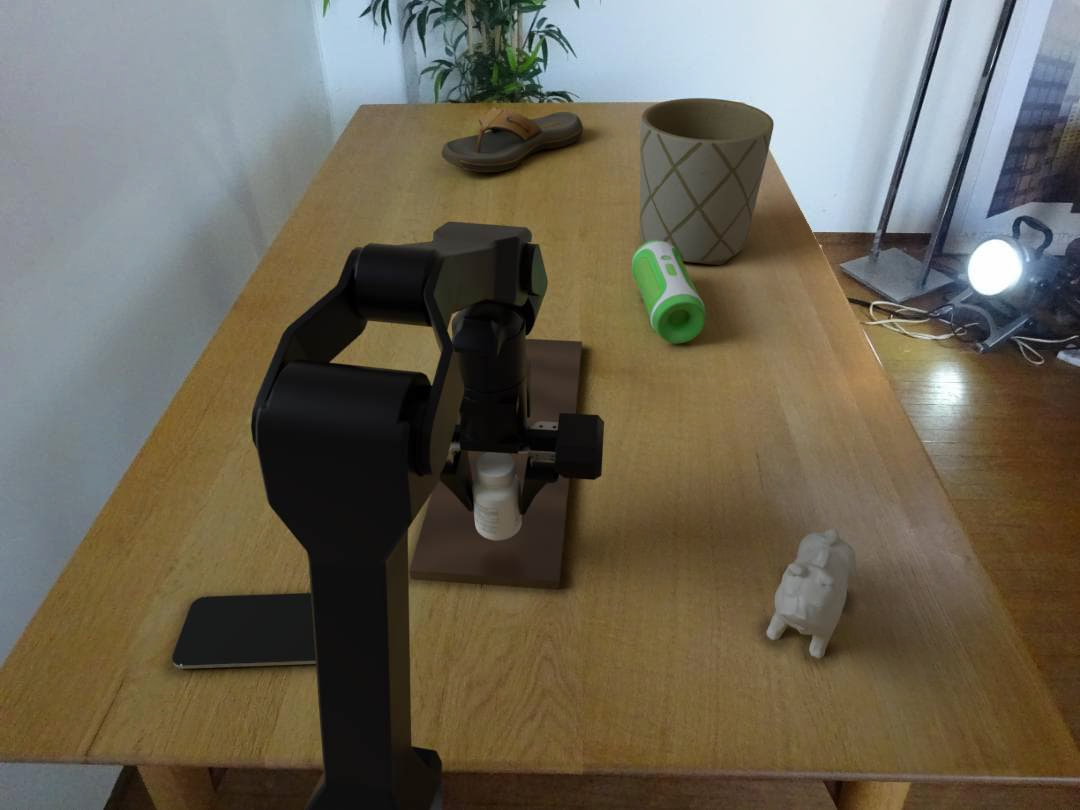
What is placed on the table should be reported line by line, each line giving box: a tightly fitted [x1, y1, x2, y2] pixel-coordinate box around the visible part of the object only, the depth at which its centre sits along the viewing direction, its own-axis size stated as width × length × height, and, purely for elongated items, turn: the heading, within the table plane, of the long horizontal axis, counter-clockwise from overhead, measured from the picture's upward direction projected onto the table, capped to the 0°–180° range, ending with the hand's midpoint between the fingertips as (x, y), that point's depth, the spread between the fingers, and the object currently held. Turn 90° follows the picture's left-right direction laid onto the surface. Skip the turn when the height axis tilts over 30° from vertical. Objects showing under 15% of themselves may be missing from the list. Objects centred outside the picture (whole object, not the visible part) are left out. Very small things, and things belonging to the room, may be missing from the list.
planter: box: [639, 97, 775, 266], centre depth 124 cm, size 19×19×20 cm
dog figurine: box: [766, 528, 857, 659], centre depth 68 cm, size 5×13×11 cm, turn 150°
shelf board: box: [408, 338, 583, 590], centre depth 91 cm, size 40×14×1 cm, turn 175°
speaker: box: [631, 240, 706, 345], centre depth 111 cm, size 18×7×8 cm, turn 5°
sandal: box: [441, 106, 584, 173], centre depth 158 cm, size 14×34×9 cm, turn 129°
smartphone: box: [171, 592, 316, 670], centre depth 71 cm, size 7×1×15 cm
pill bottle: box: [472, 452, 522, 541], centre depth 73 cm, size 4×4×8 cm
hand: (497, 509), depth 74 cm, fingers closed on pill bottle, 4 cm apart
